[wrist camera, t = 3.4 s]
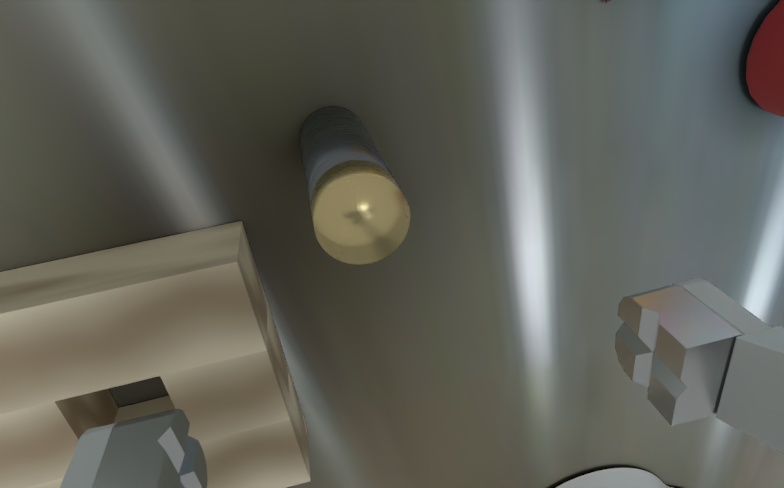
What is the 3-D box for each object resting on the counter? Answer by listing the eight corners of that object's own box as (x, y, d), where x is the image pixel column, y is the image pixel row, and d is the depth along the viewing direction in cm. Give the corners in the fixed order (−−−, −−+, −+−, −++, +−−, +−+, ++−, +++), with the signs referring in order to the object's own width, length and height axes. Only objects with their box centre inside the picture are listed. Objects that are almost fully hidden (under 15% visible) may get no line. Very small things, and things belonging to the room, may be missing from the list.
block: (306, 424, 32) (310, 481, 28) (66, 486, 30) (39, 554, 27) (242, 220, 25) (237, 261, 21) (-73, 287, 23) (-134, 343, 20)
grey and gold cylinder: (370, 163, 25) (415, 252, 17) (307, 176, 24) (324, 273, 17) (359, 100, 23) (403, 166, 15) (292, 113, 23) (303, 187, 15)
